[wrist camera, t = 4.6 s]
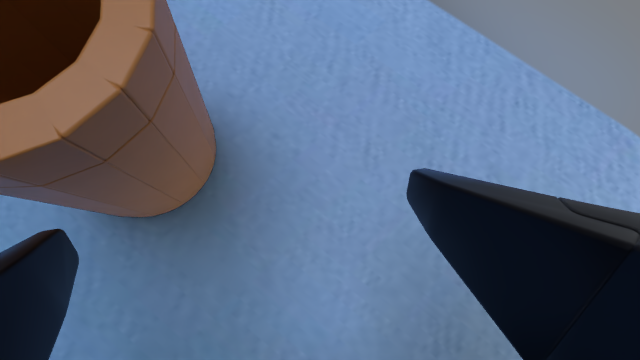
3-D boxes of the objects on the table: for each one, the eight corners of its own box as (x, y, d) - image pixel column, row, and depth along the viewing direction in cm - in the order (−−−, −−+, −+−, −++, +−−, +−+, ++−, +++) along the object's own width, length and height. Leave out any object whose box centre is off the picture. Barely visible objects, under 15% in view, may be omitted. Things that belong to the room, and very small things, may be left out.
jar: (99, 241, 16) (-236, 243, 5) (45, 112, 16) (-362, -138, 5) (237, 182, 17) (209, 87, 7) (184, 66, 18) (79, -193, 7)
